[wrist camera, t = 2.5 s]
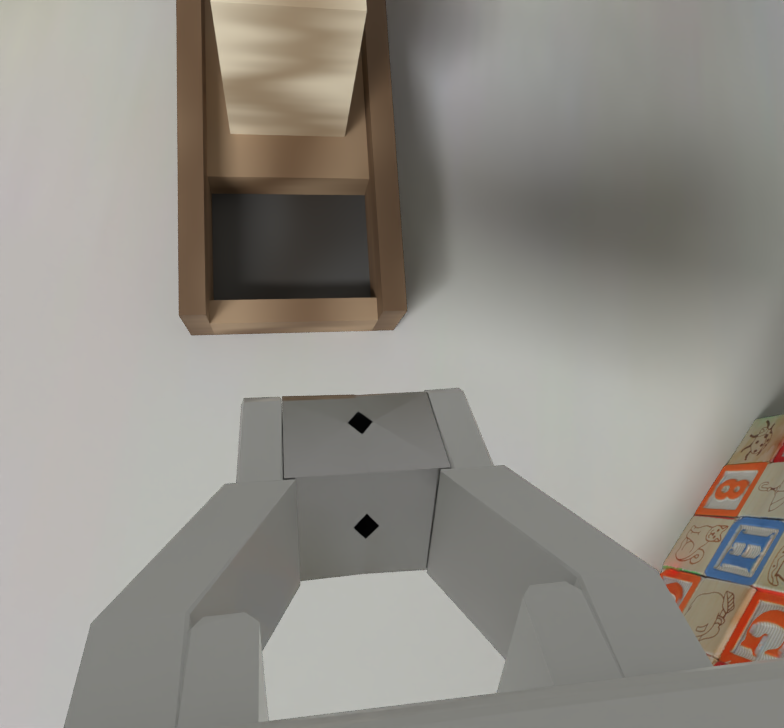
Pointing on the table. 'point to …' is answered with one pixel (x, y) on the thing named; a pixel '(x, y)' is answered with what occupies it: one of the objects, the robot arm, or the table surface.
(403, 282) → the walled track
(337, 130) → the birch block
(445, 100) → the table surface
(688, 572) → the stack of blocks
